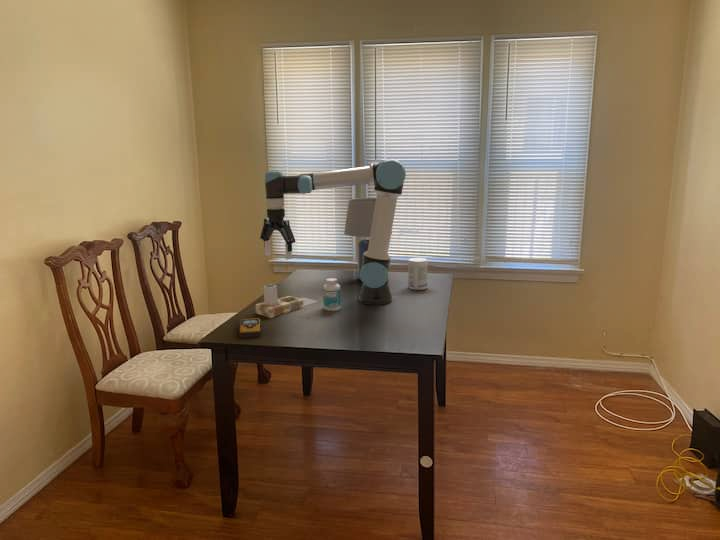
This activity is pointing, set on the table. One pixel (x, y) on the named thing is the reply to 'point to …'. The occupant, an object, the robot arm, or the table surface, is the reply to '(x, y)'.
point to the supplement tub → (417, 273)
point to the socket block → (280, 307)
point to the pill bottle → (332, 295)
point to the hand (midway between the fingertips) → (278, 257)
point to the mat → (308, 301)
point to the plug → (270, 295)
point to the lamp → (360, 223)
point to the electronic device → (250, 328)
